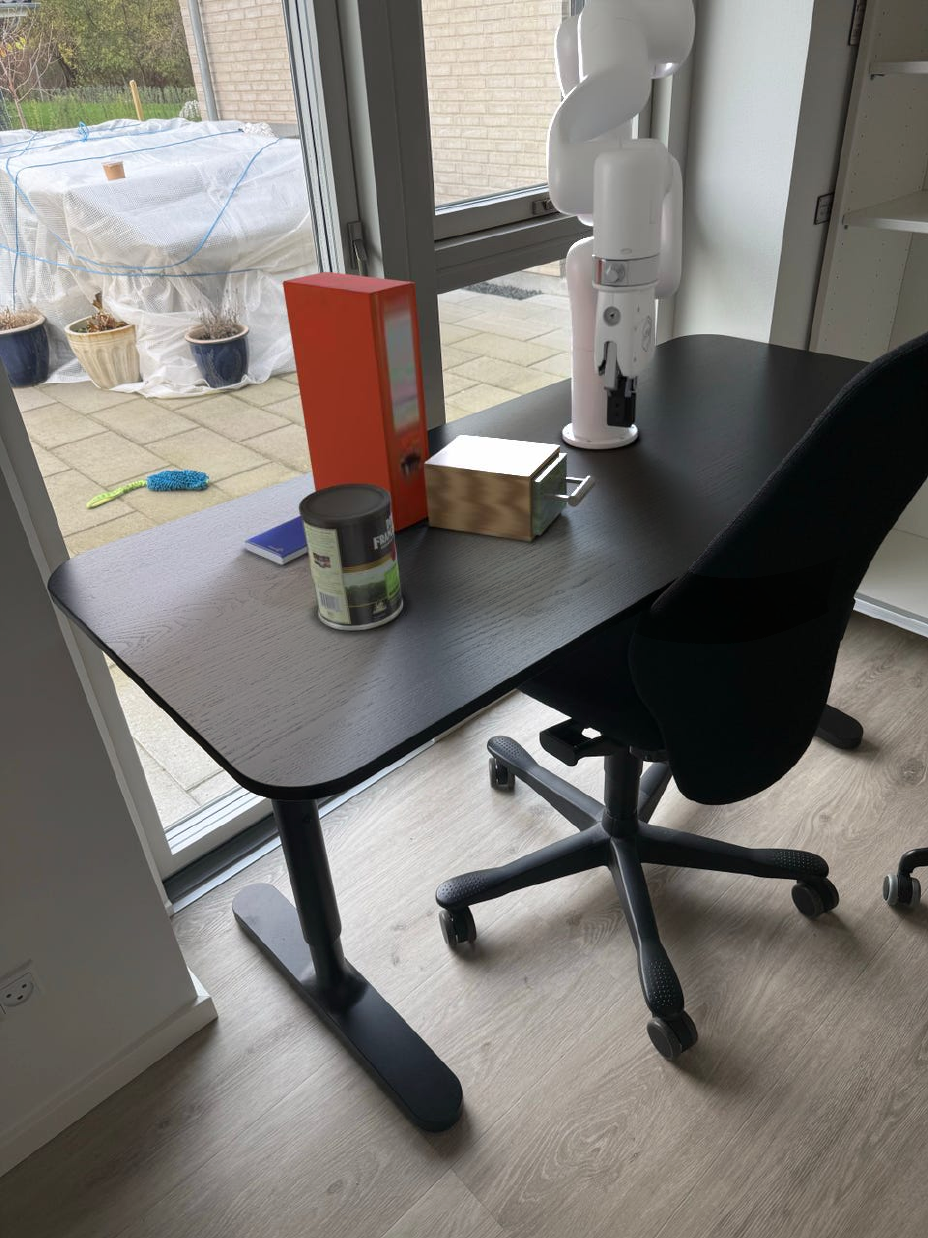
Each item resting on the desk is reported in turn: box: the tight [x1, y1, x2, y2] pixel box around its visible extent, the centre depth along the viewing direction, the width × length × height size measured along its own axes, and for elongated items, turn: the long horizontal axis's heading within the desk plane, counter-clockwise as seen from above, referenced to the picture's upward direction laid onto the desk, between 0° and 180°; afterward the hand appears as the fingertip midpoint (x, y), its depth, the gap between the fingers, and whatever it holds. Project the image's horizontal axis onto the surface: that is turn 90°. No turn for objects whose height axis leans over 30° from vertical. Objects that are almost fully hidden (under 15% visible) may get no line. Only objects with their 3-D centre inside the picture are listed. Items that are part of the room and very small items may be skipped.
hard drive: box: [244, 515, 308, 566], centre depth 121 cm, size 2×8×12 cm
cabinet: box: [424, 434, 561, 542], centre depth 121 cm, size 15×11×9 cm
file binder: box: [282, 271, 430, 532], centre depth 121 cm, size 8×17×32 cm, turn 47°
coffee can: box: [298, 483, 404, 632], centre depth 101 cm, size 10×10×14 cm
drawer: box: [531, 452, 597, 536], centre depth 120 cm, size 19×10×8 cm, turn 64°
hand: (620, 424), depth 109 cm, fingers closed
